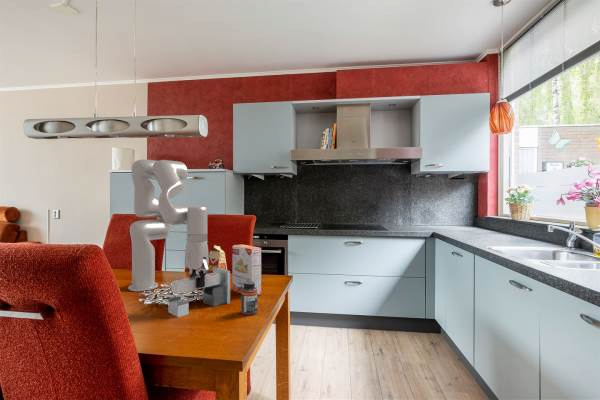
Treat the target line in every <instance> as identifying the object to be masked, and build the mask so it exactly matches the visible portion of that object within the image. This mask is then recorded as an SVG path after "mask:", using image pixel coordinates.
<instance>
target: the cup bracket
mask: <svg viewBox="0 0 600 400" xmlns="http://www.w3.org/2000/svg"><path fill="white" fill-rule="evenodd" d="M213 273H218V274H220V284H218V285H214V286H210V287H205V288H202V289H203V290H202V291H203V295H202V296H203V297H202V303H203V304H205V305H209V306H211V307H214V308H215V307H218V306H220V305H224V304H225V305H226V304H227V305H229V304H231V271H230V270H228V269H227V270H224V269H220V268H216V267H215V268H213Z"/></svg>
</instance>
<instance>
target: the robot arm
mask: <svg viewBox="0 0 600 400" xmlns="http://www.w3.org/2000/svg"><path fill="white" fill-rule="evenodd" d="M130 170H131V171H130V173H131V179H132V182H133V186H134V187H133V188H134V191H133V193H134V194H133V200H134V201H133V210H134V211H133V213H134V214H135V216H136V217H138V218H157V219H143V220H137V221H134V222H132V223H131V225H130V226H129V235H130V239H131V261H132V262H131V280H132V281H131V283H132V284H129V286H128V287H127V289H128V290H129V291H130V292H145V291H146V290H147V291H150V290H151V291H152V290H154V289H156V288H158V287H159V283H158V282H156V280H155V279H156V278H155V274H156V273H155V272H156V265H155V264H156V262H155V260H156V257H155V256H156V252H155V251H156V250H155V246H154V245H153V244H152V242H151V241H153V240H154V241H155V240H163V239H164V240H165V239H166V238H168V237H169V236H170V234H171V233H170V232H171V226H182V225H186V243H185V251H184V266H185V267H186V268H187V270H188V271H189V272H188V275H189V278H190V277H195V276H198V277H196V287H197V288H201V287H204V286H205V276H206V273H207V272H208V271H209V269H208V264H209V246H208V208H207V207H206V206H203V205H202V206H201V205H200V206H199V205H198V206H196V205H184V204H183V205H173V204H172V203H171V201H170V199H172V198H174V197H176V196H178V195H179V194H180V193H182V192H183V189H184V184H183V181H184V180H186V179H187V177H188V174H189V171H188V167H187V166H186V164H185V163H184V162H182V161H178V160H169V159H168V160H167V159H161V160H155V159H154V160H153V159H138V160H136V161H134V162H133V164H132V165H131V168H130ZM150 179H151V180H156V181H157V183H158V186H159V187H160V190H161V193H160V195H159V196H155V194H156V193H155V191H156V190H155V185H154V184H153V182H152V181H151V180H150ZM201 289H202V288H201Z"/></svg>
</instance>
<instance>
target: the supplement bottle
mask: <svg viewBox="0 0 600 400" xmlns="http://www.w3.org/2000/svg"><path fill="white" fill-rule="evenodd" d="M257 292H258V291H257V288H256V287H255V282H254V281H246V282H244V287H243V288H242V290H241V293H240V306H241V307H240V308H241V309H240V312H241V314H242V315H244V316H254V315H256V314H257V313H258V303H259V302H258V296H259V295H258V293H257Z"/></svg>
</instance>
